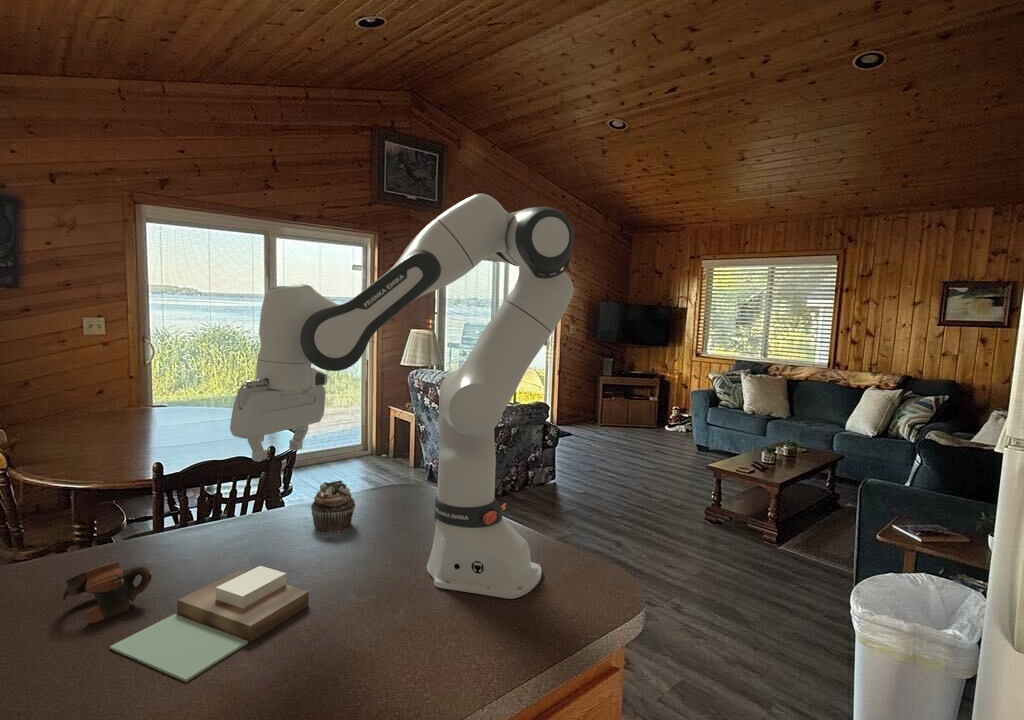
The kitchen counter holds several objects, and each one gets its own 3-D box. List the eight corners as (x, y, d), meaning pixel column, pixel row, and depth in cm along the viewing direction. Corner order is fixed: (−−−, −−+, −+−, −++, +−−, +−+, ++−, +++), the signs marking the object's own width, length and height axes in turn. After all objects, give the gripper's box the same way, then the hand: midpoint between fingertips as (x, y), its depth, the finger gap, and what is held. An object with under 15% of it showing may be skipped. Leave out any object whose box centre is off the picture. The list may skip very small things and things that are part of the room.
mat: (247, 643, 86) (247, 641, 86) (186, 682, 77) (186, 679, 77) (174, 616, 93) (174, 613, 93) (109, 649, 84) (109, 646, 84)
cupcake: (303, 524, 132) (303, 482, 132) (342, 515, 139) (343, 474, 138) (321, 538, 126) (322, 493, 125) (362, 528, 132) (363, 485, 131)
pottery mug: (64, 635, 87) (51, 582, 89) (80, 632, 96) (68, 583, 97) (155, 598, 93) (141, 549, 95) (163, 598, 101) (149, 552, 103)
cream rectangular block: (260, 576, 102) (260, 565, 102) (286, 584, 100) (286, 573, 99) (215, 599, 94) (215, 587, 94) (242, 608, 91) (242, 596, 91)
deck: (308, 605, 98) (308, 591, 98) (250, 642, 87) (250, 626, 87) (239, 583, 104) (239, 570, 104) (177, 614, 93) (177, 600, 93)
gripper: (255, 384, 90) (250, 471, 91) (333, 375, 110) (327, 446, 111) (223, 379, 92) (217, 464, 93) (304, 371, 111) (299, 441, 113)
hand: (278, 454), depth 102 cm, fingers open, 8 cm apart
